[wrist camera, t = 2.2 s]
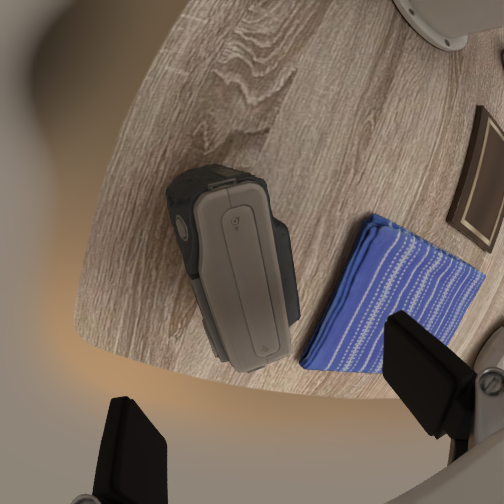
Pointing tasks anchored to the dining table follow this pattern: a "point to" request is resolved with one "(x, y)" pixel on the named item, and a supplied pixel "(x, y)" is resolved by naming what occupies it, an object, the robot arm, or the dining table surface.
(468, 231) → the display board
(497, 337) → the bowl
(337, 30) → the dining table surface
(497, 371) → the robot arm
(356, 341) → the dish towel
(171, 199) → the camera
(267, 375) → the dining table surface
